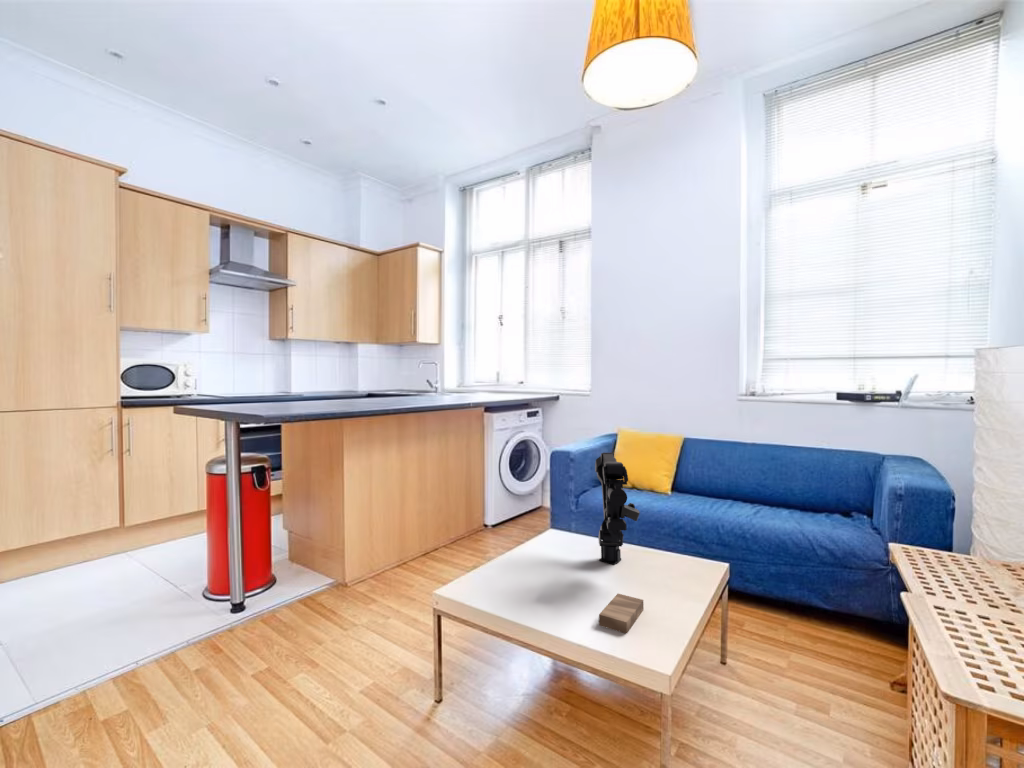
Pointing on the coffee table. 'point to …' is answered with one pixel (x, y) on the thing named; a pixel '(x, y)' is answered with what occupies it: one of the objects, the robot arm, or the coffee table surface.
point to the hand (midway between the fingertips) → (615, 542)
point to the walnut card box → (621, 613)
